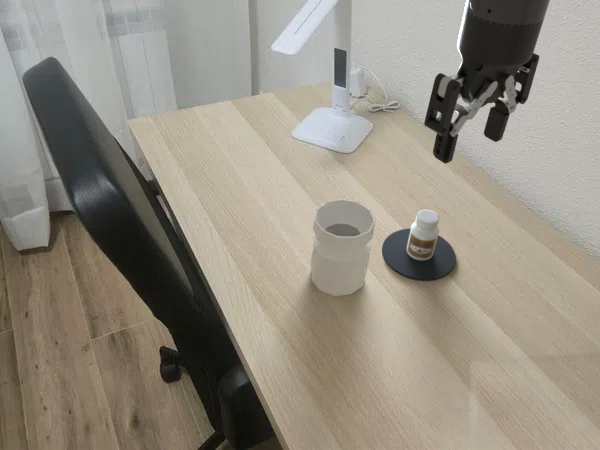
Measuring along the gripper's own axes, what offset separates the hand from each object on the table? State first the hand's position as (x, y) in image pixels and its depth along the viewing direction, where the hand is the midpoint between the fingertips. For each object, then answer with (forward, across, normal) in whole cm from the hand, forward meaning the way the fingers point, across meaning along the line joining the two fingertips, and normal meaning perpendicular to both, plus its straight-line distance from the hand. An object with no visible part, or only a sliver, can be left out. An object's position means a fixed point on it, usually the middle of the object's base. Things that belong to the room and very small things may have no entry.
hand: (467, 148), depth 64 cm
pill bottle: (+28, +7, +9) cm, 30 cm away
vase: (+28, -7, +12) cm, 31 cm away
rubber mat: (+28, +7, +9) cm, 30 cm away
